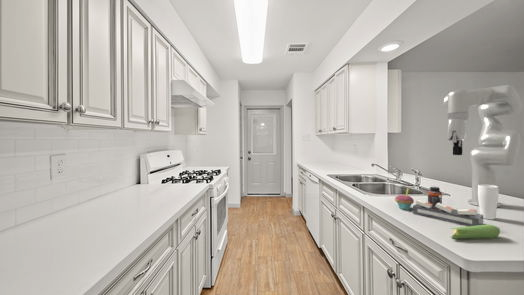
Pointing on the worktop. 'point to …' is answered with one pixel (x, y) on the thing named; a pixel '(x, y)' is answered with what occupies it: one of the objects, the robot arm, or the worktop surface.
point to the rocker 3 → (467, 211)
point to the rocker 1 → (424, 203)
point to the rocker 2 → (444, 207)
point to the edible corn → (476, 232)
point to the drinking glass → (488, 200)
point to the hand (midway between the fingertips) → (457, 154)
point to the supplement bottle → (434, 196)
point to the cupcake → (404, 201)
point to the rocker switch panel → (448, 215)
